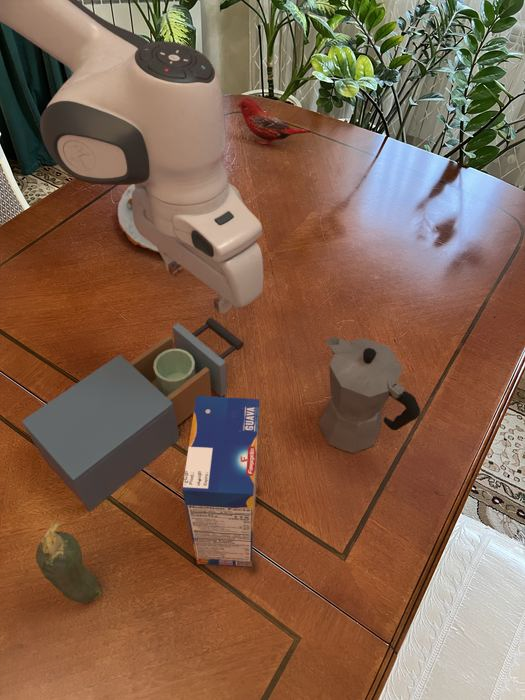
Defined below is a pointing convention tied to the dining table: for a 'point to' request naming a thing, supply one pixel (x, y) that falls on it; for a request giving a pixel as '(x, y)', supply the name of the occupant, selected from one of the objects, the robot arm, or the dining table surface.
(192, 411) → the drawer
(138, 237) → the food on plate
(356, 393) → the coffeepot
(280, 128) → the decorative bird figurine
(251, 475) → the beverage box
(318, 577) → the dining table surface
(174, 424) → the cabinet
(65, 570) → the vegetable
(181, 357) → the cup
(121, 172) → the robot arm
